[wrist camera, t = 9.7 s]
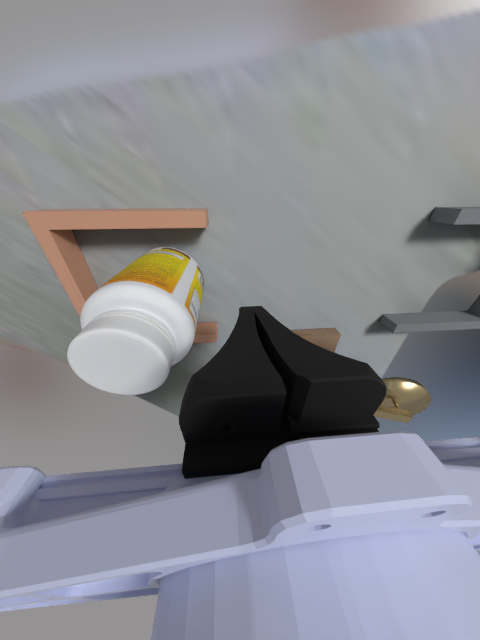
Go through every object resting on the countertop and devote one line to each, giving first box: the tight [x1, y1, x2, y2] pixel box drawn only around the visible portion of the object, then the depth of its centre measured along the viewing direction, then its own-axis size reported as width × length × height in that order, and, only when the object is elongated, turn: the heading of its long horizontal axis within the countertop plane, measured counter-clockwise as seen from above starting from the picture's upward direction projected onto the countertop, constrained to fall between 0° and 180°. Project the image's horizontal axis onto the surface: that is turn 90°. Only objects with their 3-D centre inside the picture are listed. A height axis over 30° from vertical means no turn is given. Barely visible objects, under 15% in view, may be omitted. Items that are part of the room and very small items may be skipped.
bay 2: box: [380, 207, 480, 333], centre depth 18 cm, size 11×11×2 cm
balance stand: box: [291, 328, 341, 352], centre depth 20 cm, size 6×8×6 cm
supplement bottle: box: [67, 247, 204, 395], centre depth 12 cm, size 6×6×10 cm
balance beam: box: [374, 377, 431, 423], centre depth 17 cm, size 5×18×2 cm, turn 90°
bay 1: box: [22, 209, 217, 344], centre depth 16 cm, size 11×11×2 cm
